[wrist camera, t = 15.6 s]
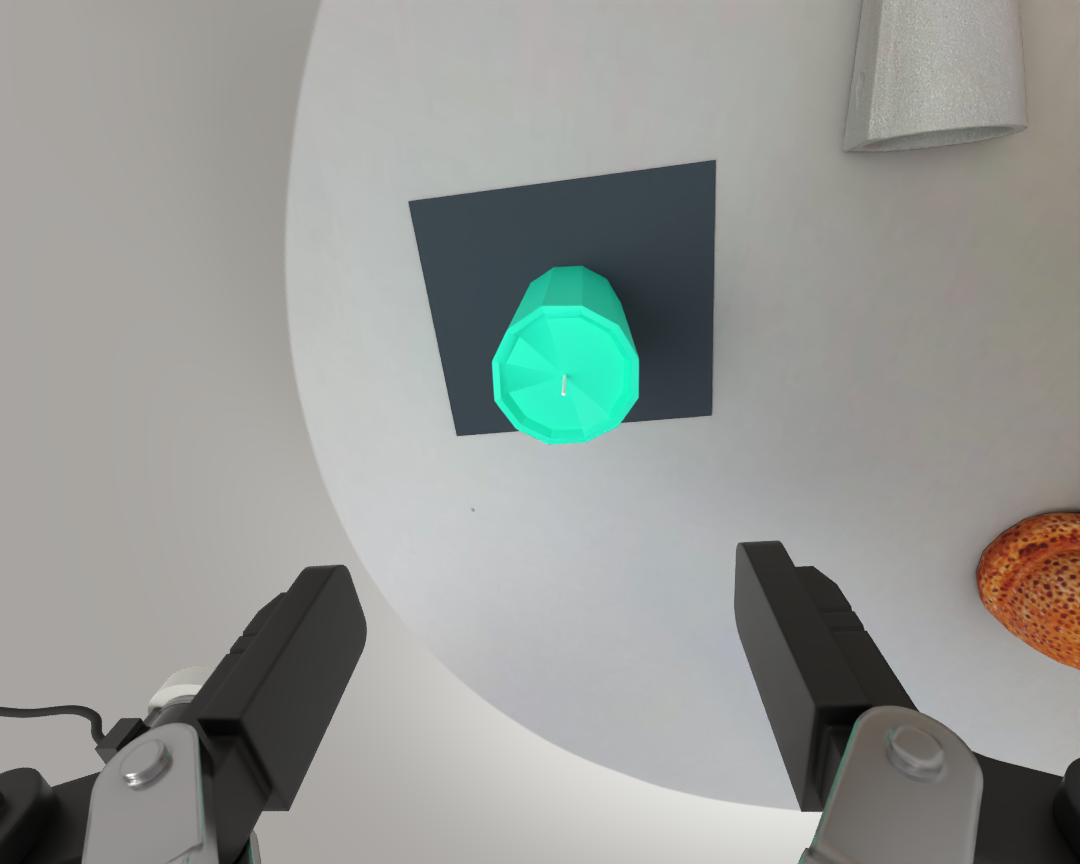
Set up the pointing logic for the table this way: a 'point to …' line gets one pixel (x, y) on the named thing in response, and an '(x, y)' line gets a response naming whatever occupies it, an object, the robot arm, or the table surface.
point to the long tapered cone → (936, 74)
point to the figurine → (1037, 584)
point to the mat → (576, 240)
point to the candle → (567, 359)
